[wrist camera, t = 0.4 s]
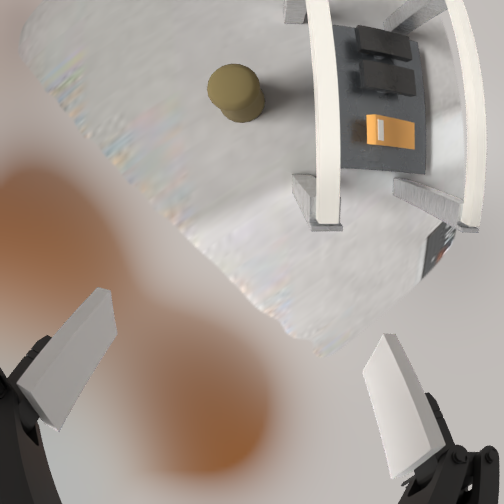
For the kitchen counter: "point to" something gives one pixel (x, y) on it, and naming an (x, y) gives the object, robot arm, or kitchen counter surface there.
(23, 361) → the robot arm
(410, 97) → the white rail rack
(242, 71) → the cork
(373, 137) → the orange flat block
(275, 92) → the kitchen counter surface
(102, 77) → the kitchen counter surface
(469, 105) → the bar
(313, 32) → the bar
